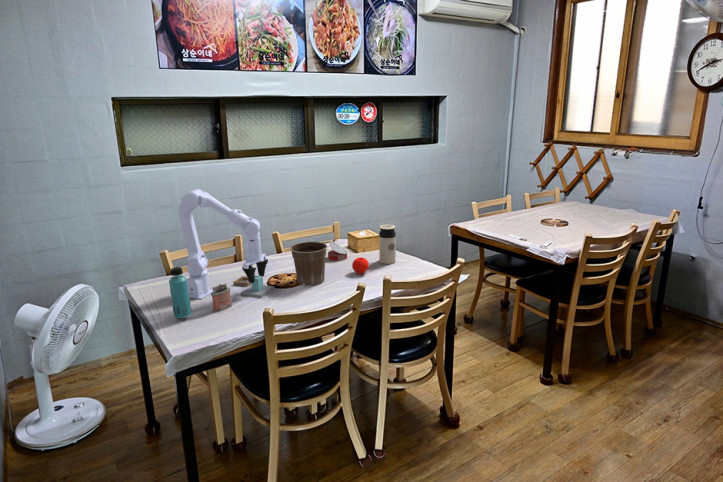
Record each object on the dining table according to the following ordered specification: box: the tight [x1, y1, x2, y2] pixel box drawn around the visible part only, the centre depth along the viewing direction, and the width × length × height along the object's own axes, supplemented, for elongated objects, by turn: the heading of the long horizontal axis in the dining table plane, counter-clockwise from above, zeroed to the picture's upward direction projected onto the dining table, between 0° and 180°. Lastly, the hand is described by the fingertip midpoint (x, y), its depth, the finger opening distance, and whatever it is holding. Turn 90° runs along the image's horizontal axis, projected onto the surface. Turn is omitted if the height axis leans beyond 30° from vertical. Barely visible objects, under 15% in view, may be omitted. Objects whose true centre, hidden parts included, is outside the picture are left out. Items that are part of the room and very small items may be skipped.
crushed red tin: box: [210, 282, 233, 313], centre depth 187 cm, size 8×3×10 cm, turn 141°
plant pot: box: [289, 241, 328, 287], centre depth 212 cm, size 16×16×16 cm
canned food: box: [327, 240, 348, 262], centre depth 244 cm, size 11×10×10 cm
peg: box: [250, 274, 264, 291], centre depth 203 cm, size 4×4×6 cm
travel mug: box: [378, 224, 397, 265], centre depth 235 cm, size 8×8×18 cm
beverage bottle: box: [168, 266, 192, 319], centre depth 177 cm, size 6×7×20 cm
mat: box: [240, 284, 275, 298], centre depth 204 cm, size 10×10×1 cm
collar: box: [233, 275, 251, 287], centre depth 213 cm, size 7×7×2 cm
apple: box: [351, 257, 370, 275], centre depth 221 cm, size 8×8×7 cm
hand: (256, 279), depth 202 cm, fingers open, 7 cm apart
